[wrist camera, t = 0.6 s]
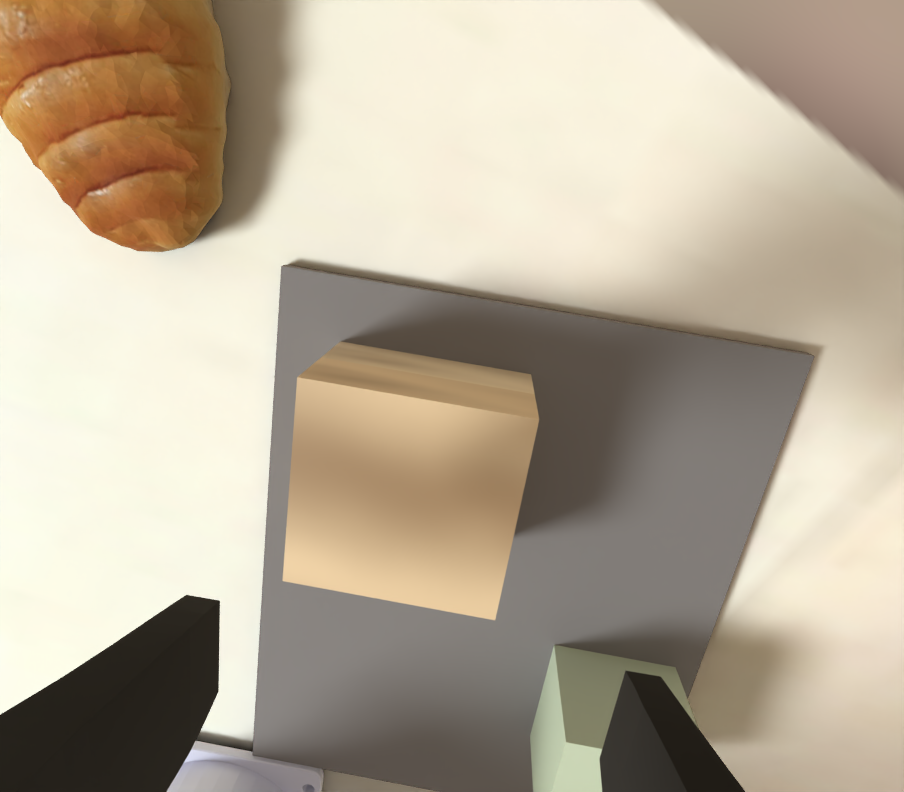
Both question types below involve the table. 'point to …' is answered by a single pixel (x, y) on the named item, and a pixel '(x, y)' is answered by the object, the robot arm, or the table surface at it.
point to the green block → (582, 716)
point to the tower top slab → (406, 485)
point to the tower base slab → (431, 366)
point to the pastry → (120, 111)
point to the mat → (520, 531)
